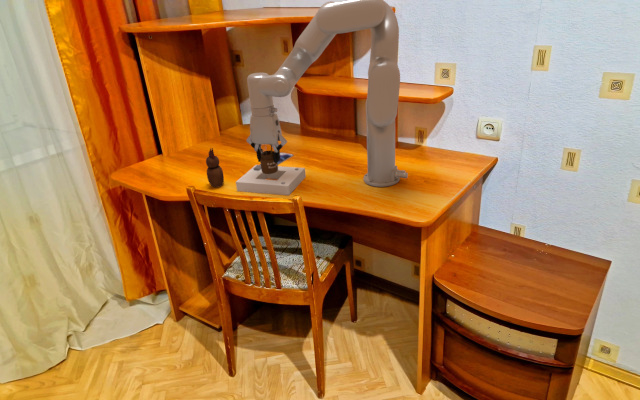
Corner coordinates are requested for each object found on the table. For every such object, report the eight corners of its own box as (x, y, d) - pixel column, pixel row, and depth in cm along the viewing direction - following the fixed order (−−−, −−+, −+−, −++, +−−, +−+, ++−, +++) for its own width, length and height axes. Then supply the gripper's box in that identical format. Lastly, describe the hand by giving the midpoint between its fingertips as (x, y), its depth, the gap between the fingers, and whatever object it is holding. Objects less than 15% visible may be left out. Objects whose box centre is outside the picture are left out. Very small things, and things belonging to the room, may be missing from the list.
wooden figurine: (226, 187, 164) (218, 148, 158) (209, 190, 163) (202, 151, 156) (224, 180, 170) (217, 142, 164) (208, 183, 169) (200, 145, 162)
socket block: (305, 176, 168) (304, 166, 166) (289, 195, 154) (287, 183, 152) (257, 173, 174) (255, 162, 172) (237, 190, 161) (235, 179, 159)
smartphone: (294, 154, 189) (272, 167, 178) (294, 156, 189) (273, 169, 178) (280, 152, 192) (258, 164, 181) (280, 153, 193) (258, 166, 182)
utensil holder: (258, 172, 162) (253, 140, 156) (270, 166, 166) (266, 135, 161) (270, 175, 158) (266, 143, 153) (282, 169, 163) (278, 137, 157)
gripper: (290, 108, 153) (295, 158, 161) (245, 107, 158) (252, 156, 166) (281, 114, 147) (287, 166, 155) (234, 113, 152) (242, 163, 160)
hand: (269, 160), depth 160 cm, fingers closed on utensil holder, 5 cm apart
